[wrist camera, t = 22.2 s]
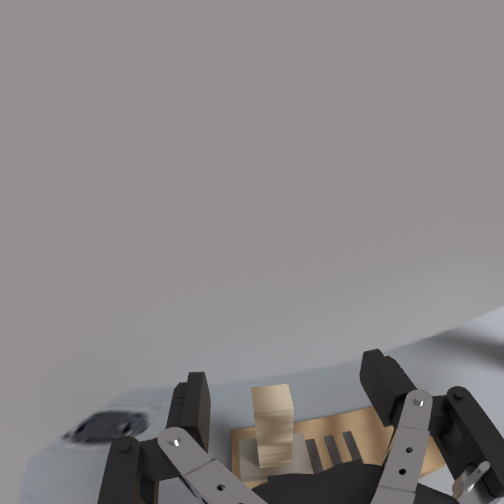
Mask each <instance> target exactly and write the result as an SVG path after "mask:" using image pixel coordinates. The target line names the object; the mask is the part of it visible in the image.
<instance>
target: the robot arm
mask: <svg viewBox="0 0 504 504" xmlns="http://www.w3.org/2000/svg"><path fill="white" fill-rule="evenodd" d="M360 382H361V385H362V386H363V388H364V390H365V392H366V394H367V396H368V398H369V399H370V401H371V403H372V405H373V407H374V409H375V411H376V412H377V414H378V416H379V418H380V420H381V422H382V424H383V426H384V427H388V426H391V425H392V426H393V428H394V430H393V432H392V435H391V438H390V441H389V444H388V447H387V450H386V452H385V455H384V458H383V460H382V463H381V465H376V464H362V461H361V459H360V458H359V459H356V460H352V461H348V462H344V463H340V464H337V465H335V466H333V467H331V468H329V469H327V470H324V471H322V472H320V473H317V474H299V473H289V474H281V475H273V476H267V480H268V482H265V483H262V484H260V485H258V486H256V487H254V488H252V489H249V488H248V487H247V486H246V485H245V484H244V483H243V482H241V481H240V480H239V479H238V478H237V477H236V476H235V475H234V474H233V473H231V472H230V471H229V470H228V469H227V468H226V467H225V466H224V465H223V464H222V463H221V462H220V461H219V460H217V459H212V458H211V457H210V456H209V455H208V441H209V422H210V405H211V402H210V393H209V389H208V385H207V380H206V376H205V373H204V372H189V375H188V380H187V383H186V382H184V383H179V384H178V385H177V386H176V388H175V389H174V392H173V397H172V401H171V406H170V411H169V416H168V421H167V426H166V429H165V430H163V431H162V432H161V433H160V434H159V436H158V437H157V438H155V439H152V440H147V441H141V442H138V440H137V439H135V438H133V437H131V436H122V437H119V438H117V439H116V440H114V441H113V442H112V444H111V447H110V451H109V455H108V459H107V463H106V467H105V471H104V475H103V480H102V484H101V489H100V494H99V499H98V504H157V503H158V489H159V481H161V480H166V479H171V478H176V477H178V478H179V479H180V481H181V482H182V483H183V484H184V485H185V487H186V488H187V489H188V490H189V491H190V492H191V494H192V495H193V496H194V497H195V498H196V499H197V500H198V501H199V503H200V504H496V503H498V502H499V501H500V500H501V499H502V498H503V497H504V439H503V437H502V436H501V434H500V433H499V431H498V430H497V429H496V427H495V426H494V424H493V423H492V422H491V420H490V419H489V417H488V416H487V415H486V413H485V412H484V411H483V409H482V408H481V407H480V405H479V404H478V403H477V401H476V400H475V399H474V397H473V396H472V395H471V393H470V392H469V391H468V390H467V389H466V388H464V387H460V386H455V387H452V388H450V389H449V390H448V392H447V394H446V395H443V396H431V395H430V394H429V393H428V392H426V391H424V390H417V388H416V387H415V386H414V384H413V383H412V382H411V380H410V379H409V377H408V376H407V375H406V373H404V371H403V369H402V368H400V365H399V364H398V363H397V361H396V360H394V359H393V358H391V357H389V356H385V357H384V355H383V354H382V352H381V351H380V350H379V349H374V350H369V351H365V352H364V353H363V358H362V364H361V370H360ZM429 436H432V438H433V440H434V441H435V443H436V445H437V447H438V449H439V451H440V453H441V455H442V457H443V458H444V460H445V462H446V464H447V466H448V468H449V470H450V472H451V474H452V476H453V478H454V480H455V482H454V484H453V487H452V492H453V495H452V496H450V495H447V494H444V493H442V492H439V491H437V490H434V489H432V488H429V487H427V486H425V485H422V484H420V483H418V480H419V476H420V473H421V469H422V465H423V461H424V457H425V453H426V449H427V444H428V440H429Z"/></svg>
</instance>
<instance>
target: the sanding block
mask: <svg viewBox="0 0 504 504" xmlns="http://www.w3.org/2000/svg"><path fill="white" fill-rule="evenodd" d="M252 399H253V409H254V419H255V428H256V438H253V439H239V454H240V474H241V481H242V482H243V483H246V482H259V481H268V480H267V476H273V475H281V474H289V473H299V474H311V473H312V466H311V462H310V458H309V454H308V450H307V447H306V443H305V439H304V435H303V432H302V433H296V434H293V424H294V406H293V402H292V398H291V394H290V390H289V386H288V384H281V385H273V386H263V387H252Z"/></svg>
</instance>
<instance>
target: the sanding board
mask: <svg viewBox="0 0 504 504" xmlns="http://www.w3.org/2000/svg"><path fill="white" fill-rule="evenodd" d="M393 430H394V428H393V426H392V425H391V426H388V427H384V426H383V424H382V422H381V420H380V418H379V416H378V414H377V412H376V411H375V409H374V407H373V406H372V407H368V408H365V409H361V410H357V411H352V412H348V413H344V414H339V415H334V416H329V417H324V418H319V419H313V420H308V421H301V422H295V423H294V424H293V434H296V433H302V432H303V435H304V439H305V443H306V447H307V450H308V454H309V458H310V462H311V466H312V473H311V474H317V473H320V472H322V471H324V470H327V469H329V468H331V467H333V466H335V465H337V464H340V463H344V462H348V461H352V460H356V459H359V458H360V459H361V461H362V464H376V465H381V463H382V460H383V458H384V455H385V452H386V450H387V447H388V444H389V441H390V438H391V435H392V432H393ZM253 438H256V428H255V427H252V428H239V429H231V445H232V473H233V474H234V475H235V476H236V477H237V478H238V479H239V480H240V481H241V474H240V454H239V439H253ZM445 464H446V462H445V460H444V458H443V457H442V455H441V453H440V451H439V449H438V447H437V445H436V443H435V441H434V440H433V438H432V436H429V440H428V444H427V449H426V453H425V457H424V461H423V465H422V469H421V473H420V476H419V478H421V477H423V476H425V475H428V474H430V473H432V472H434V471H436V470H438V469H440V468H442V467H444V465H445ZM241 482H242V481H241ZM265 482H268V481H259V482H246V483H244V484H245V485H246V486H247V487H248V488H249V489H252V488H254V487H256V486H258V485H260V484H262V483H265Z"/></svg>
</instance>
